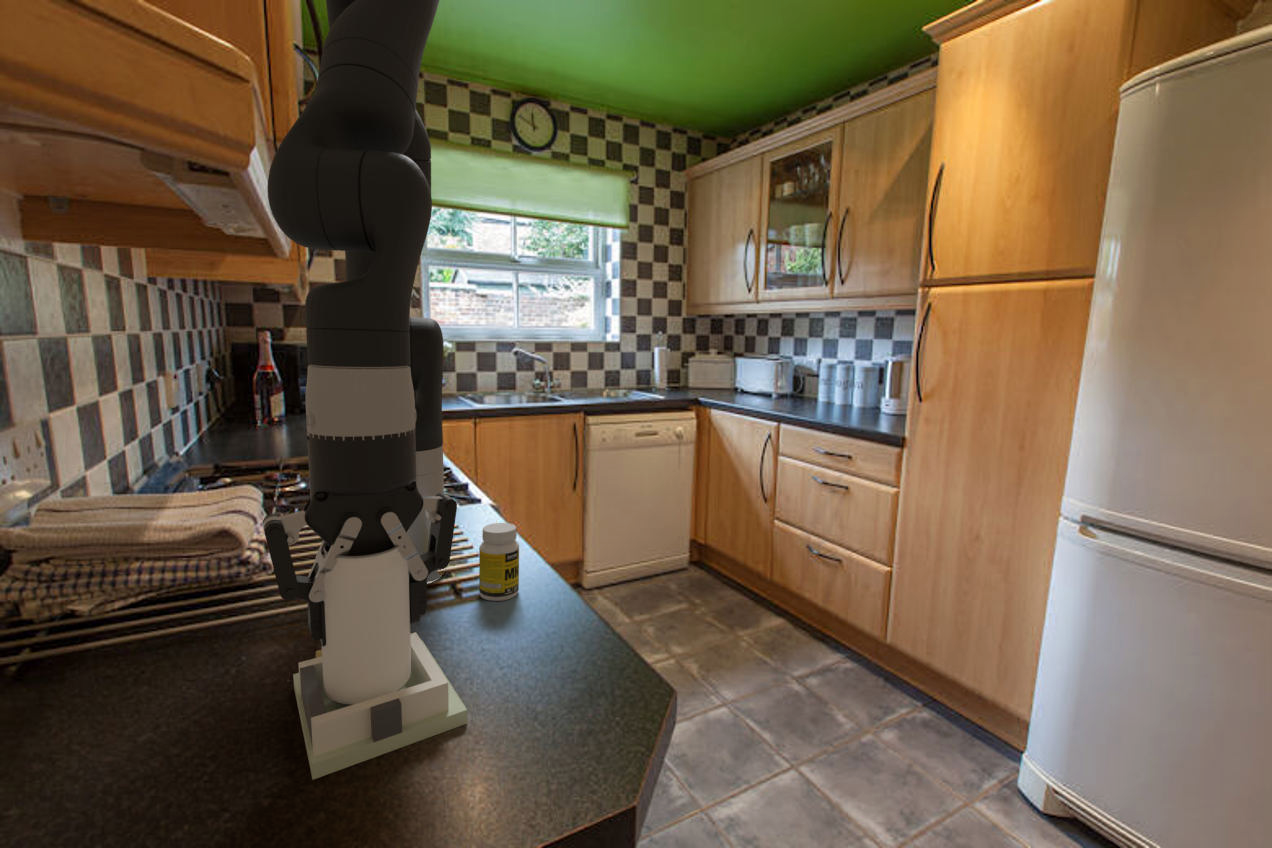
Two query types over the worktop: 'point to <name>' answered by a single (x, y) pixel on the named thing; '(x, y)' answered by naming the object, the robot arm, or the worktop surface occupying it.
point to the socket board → (374, 714)
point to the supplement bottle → (499, 562)
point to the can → (366, 626)
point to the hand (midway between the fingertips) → (370, 629)
